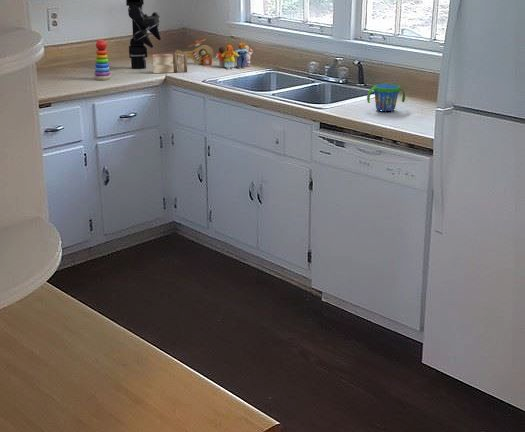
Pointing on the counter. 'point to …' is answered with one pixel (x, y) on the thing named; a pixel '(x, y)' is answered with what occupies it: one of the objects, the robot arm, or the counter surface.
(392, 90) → the snack cup
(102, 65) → the stacking toy
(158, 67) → the fence gate
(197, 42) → the toy helicopter
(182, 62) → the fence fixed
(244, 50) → the doll family
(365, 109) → the counter surface
